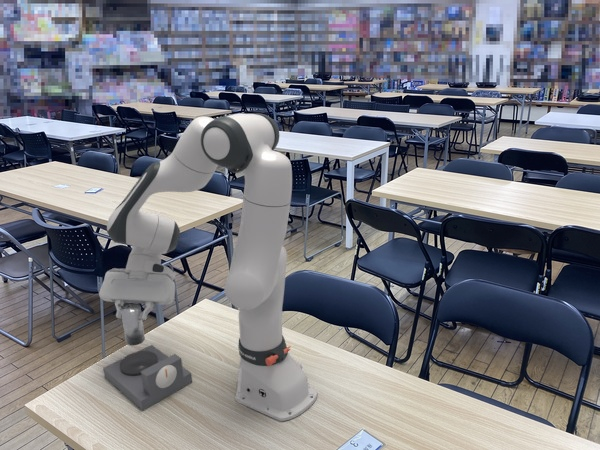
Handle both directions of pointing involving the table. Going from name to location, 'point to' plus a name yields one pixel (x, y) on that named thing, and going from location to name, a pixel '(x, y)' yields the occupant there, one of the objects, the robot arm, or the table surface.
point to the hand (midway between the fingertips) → (130, 318)
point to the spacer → (132, 324)
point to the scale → (148, 376)
